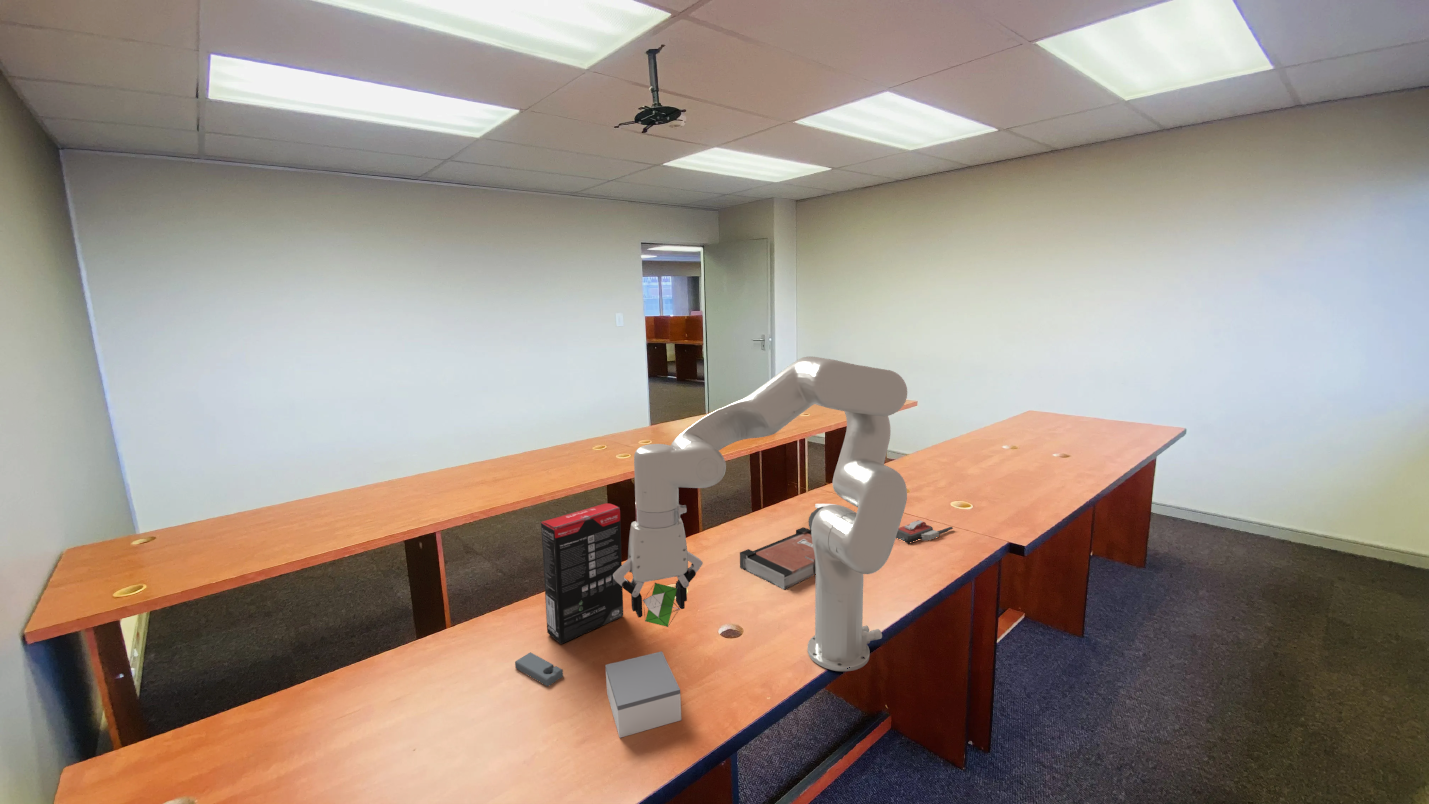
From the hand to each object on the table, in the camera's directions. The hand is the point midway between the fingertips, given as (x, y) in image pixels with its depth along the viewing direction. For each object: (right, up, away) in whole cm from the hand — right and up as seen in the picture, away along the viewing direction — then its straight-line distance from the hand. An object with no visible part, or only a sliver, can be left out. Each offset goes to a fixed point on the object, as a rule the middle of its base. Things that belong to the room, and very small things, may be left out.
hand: (659, 608), depth 102 cm
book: (+33, -9, +57) cm, 66 cm away
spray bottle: (+47, -3, +89) cm, 101 cm away
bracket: (-26, -18, +13) cm, 34 cm away
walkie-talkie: (+75, -5, +75) cm, 106 cm away
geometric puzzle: (-1, -3, 0) cm, 3 cm away
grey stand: (-3, -19, +2) cm, 19 cm away
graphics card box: (-19, -15, +29) cm, 37 cm away
